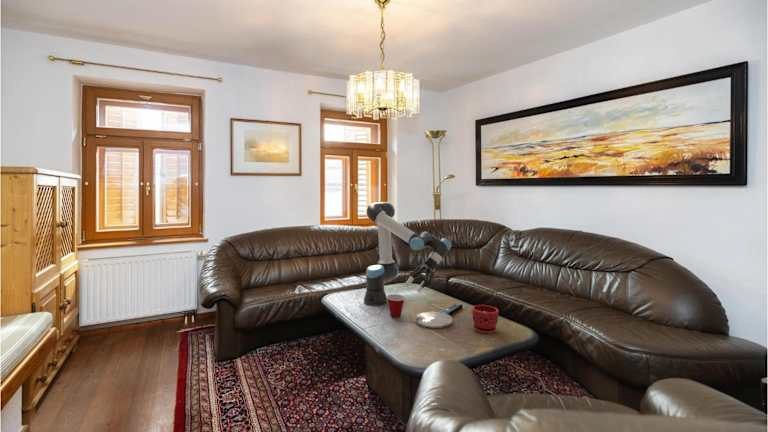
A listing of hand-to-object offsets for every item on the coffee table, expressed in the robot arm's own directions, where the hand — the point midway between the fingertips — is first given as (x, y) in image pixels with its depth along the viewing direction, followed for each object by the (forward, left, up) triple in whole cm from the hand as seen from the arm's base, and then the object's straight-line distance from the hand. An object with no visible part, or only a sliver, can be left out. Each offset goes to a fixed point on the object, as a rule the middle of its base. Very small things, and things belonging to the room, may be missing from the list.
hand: (411, 288), depth 218 cm
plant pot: (+40, +20, -15) cm, 47 cm away
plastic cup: (0, -11, -15) cm, 19 cm away
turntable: (+18, +3, -15) cm, 24 cm away
